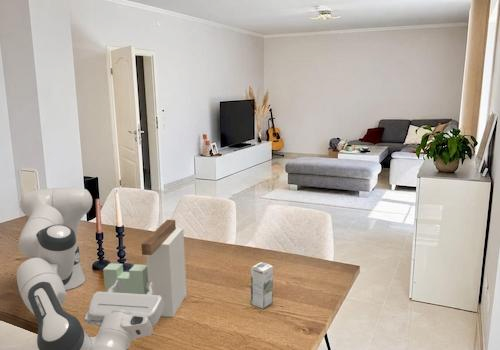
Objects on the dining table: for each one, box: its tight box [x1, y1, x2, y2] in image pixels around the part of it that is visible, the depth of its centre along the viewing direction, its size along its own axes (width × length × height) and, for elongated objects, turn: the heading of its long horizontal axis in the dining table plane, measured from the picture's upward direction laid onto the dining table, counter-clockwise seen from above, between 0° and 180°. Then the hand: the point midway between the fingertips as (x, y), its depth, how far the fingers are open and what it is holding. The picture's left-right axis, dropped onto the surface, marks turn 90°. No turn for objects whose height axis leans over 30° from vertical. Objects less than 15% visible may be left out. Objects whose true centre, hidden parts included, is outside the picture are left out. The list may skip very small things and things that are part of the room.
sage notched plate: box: [102, 262, 149, 294], centre depth 146 cm, size 14×5×16 cm, turn 82°
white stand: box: [145, 227, 188, 318], centre depth 148 cm, size 8×16×26 cm, turn 172°
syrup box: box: [250, 261, 274, 310], centre depth 149 cm, size 6×6×14 cm
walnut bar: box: [140, 219, 177, 256], centre depth 141 cm, size 3×24×4 cm, turn 172°
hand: (135, 282), depth 122 cm, fingers open, 8 cm apart
